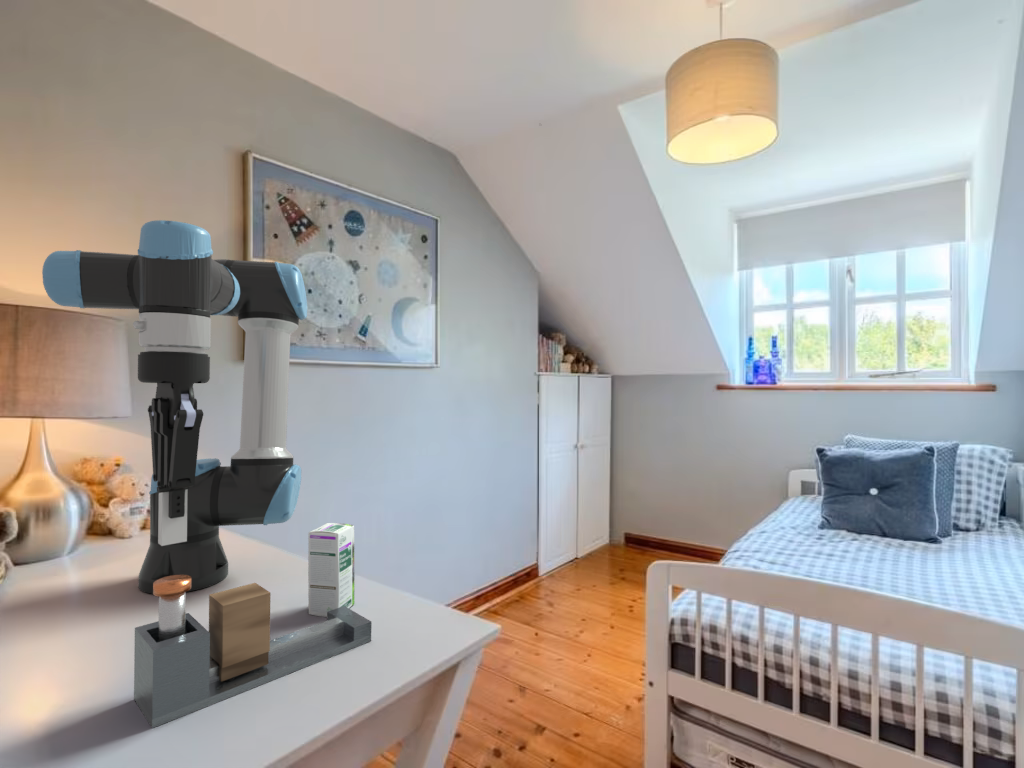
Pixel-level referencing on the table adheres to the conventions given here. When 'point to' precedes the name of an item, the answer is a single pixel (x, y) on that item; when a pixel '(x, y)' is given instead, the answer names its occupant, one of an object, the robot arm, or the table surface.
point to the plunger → (172, 604)
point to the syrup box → (330, 568)
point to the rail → (195, 679)
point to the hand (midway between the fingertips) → (172, 542)
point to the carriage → (239, 629)
